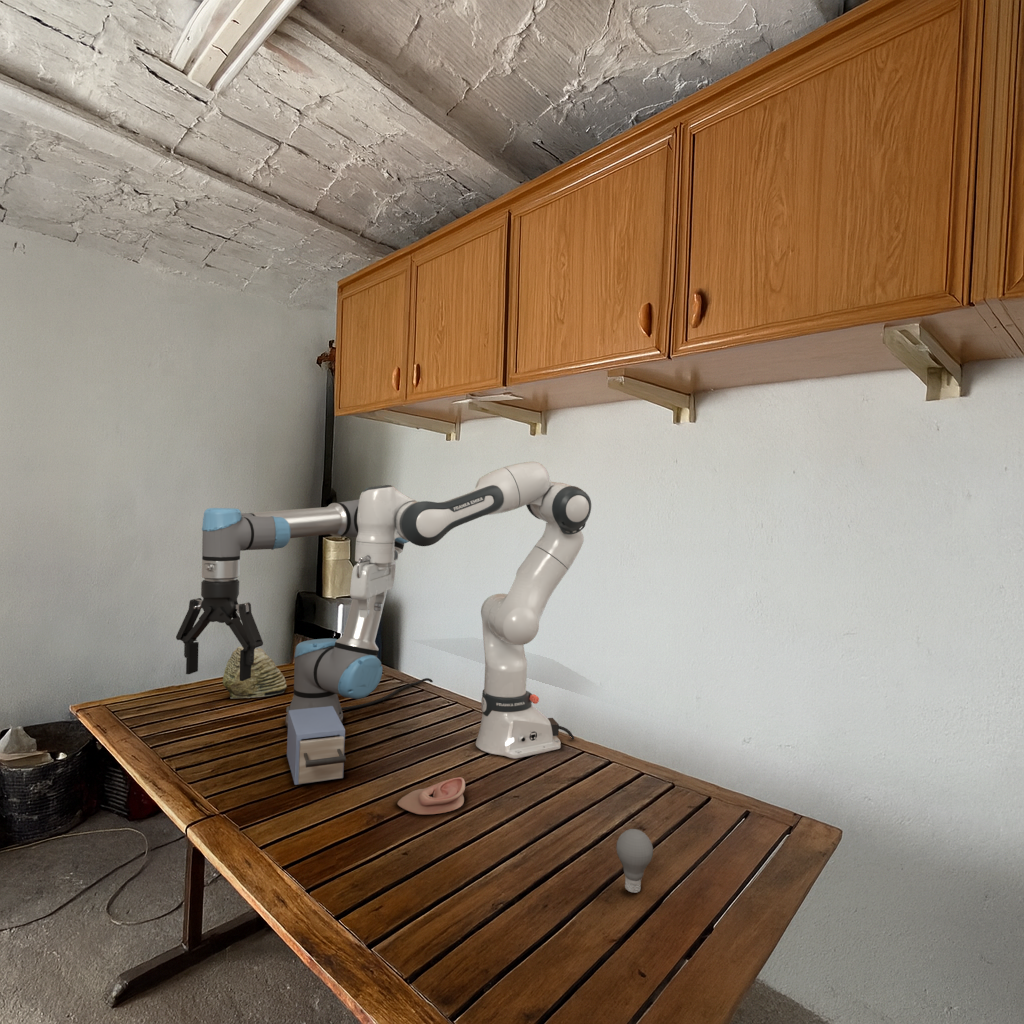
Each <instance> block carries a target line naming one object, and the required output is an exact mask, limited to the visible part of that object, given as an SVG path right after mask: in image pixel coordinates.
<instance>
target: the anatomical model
mask: <svg viewBox="0 0 1024 1024" xmlns="http://www.w3.org/2000/svg"><path fill="white" fill-rule="evenodd" d="M465 789H466V781H465V779H464V778H463V777H461V776H459V777H453V778H449V779H446V780H442V781H439V782H437V783H435V784H432V785H431V786H430V785H429V786H428V787H425V788H419V789H416V790H412V791H411V792H409V793H406V794H405V795H403V796H402V797H401V798H400V799H399V800H398V801H397V806H398V807H400V808H402V809H403V810H405V811H408V812H410V813H413V814H414V815H415V814H416V815H422V816H423V815H424V816H425V815H436V814H445V813H448V812H449V813H450V812H453V811H455V810H457V809H460V808H461V807H462V806H464V802H465V797H464V792H465Z"/></svg>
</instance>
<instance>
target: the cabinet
mask: <svg viewBox="0 0 1024 1024" xmlns="http://www.w3.org/2000/svg"><path fill="white" fill-rule="evenodd" d="M287 713H288V727H287V735H286V737H287V738H286V758H287V761H288V765H289V768H290V769H289V770H290V773H291V777H292V781H293V784H294V785H295V786H297V785H300V784H299V783H298V774H299V748H300V741H301V739H308V738H317V737H326V736H334V735H337V737H339V736H343V737H344V748H345V747H346V746H345V743H346V742H345V741H346V729H345V726H344V725H343V722H342V723H341V721H340V719H339V717H338V715H337V713H336V711H335V710H334V708H333V706H327V707H317V708H307V709H296V710H288V712H287ZM343 756H345V750H344V751H343ZM344 766H345V762H344V763H343V773H344V772H345V771H344V770H345V767H344ZM340 779H344V775H343V776H342V778H337V779H336V780H340ZM331 780H334V779H330V780H329V781H331ZM326 781H327V780H323V781H322V782H326ZM317 782H318V783H319V782H320V781H316V782H315V783H317ZM305 784H306V783H302V784H301V785H305ZM308 784H313V782H309V783H308Z"/></svg>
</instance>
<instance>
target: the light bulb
mask: <svg viewBox="0 0 1024 1024" xmlns="http://www.w3.org/2000/svg"><path fill="white" fill-rule="evenodd" d="M615 849H616V854H617V857H618V859H619V861H620V863H621V865H622V867H623V873H624V874H623V875H624V876H625V878H624V888H625V890H627V891H628V892H630V893H634V894H635V893H639V892H640V891H641V889H642V887H641V886H642V879H643V877H644V875H645V871H646V868H647V867H648V866H649V864H650V863H651V861H652V859H653V855H654V847H653V843H652V841H651V838H649V836H648V835H647V834H646V833H645V832H643V831H642V830H641V829H636V828H629V829H627V830H625V831H623V832H622V833H621V834H620V835H619V837H618V839H617V841H616V847H615Z"/></svg>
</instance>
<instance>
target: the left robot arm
mask: <svg viewBox="0 0 1024 1024" xmlns="http://www.w3.org/2000/svg"><path fill="white" fill-rule="evenodd" d="M359 499H360V498H358V499H353V500H347V501H341V502H332V503H330V504H328V506H324V507H323V506H322V507H309V508H296V509H295V508H294V509H282V510H270V511H269V510H268V511H255V512H243V513H242V511H241V509H239V508H235V507H209V508H206V509H205V510H204V512H203V517H202V527H201V531H202V536H201V537H202V538H201V540H202V541H201V542H202V544H201V545H202V546H201V548H202V549H201V556H202V557H201V577H202V578H203V580H202V581H201V583H200V596H201V597H202V598H201V597H198V598H192V599H190V600H189V602H188V603H189V604H188V610H187V612H186V614H185V616H184V618H183V621H182V623H181V625H180V627H179V629H178V631H177V633H176V636H175V639H176V640H177V641H181V642H182V643H183V647H184V648H183V656H184V658H185V659H186V660H185V662H186V663H185V675H191V674H194V673H197V672H199V647H200V645H199V643H200V642H199V641H198V637H199V636H200V635H201V634H202V633H203V631H204V630H205V629H206V628H207V627H208V625H209V624H210V623H215V622H216V623H219V624H225V625H226V626H227V627H229V629H230V630H231V631H232V633H233V635H234V636H235V637H236V639H237V640H238V642H239V644H240V646H241V647H243V648H244V649H243V650H241V651H240V681H244V680H247V679H249V678H251V664H253V663H254V650H255V649H257V648H260V647H263V645H264V641H263V638H262V636H261V634H260V631H259V628H258V626H257V623H256V621H255V618H254V616H253V613H252V604H251V602H249V601H248V602H244V603H239V602H238V598H239V596H240V580H239V579H238V578H239V577H240V576H241V552H242V551H243V552H244V551H254V550H255V551H257V550H258V551H259V550H271V551H274V550H277V549H282V548H283V549H284V548H285V547H286V546H288V544H289V542H290V540H291V539H298V538H306V537H317V536H322V535H323V536H325V535H330V536H332V537H335V538H338V537H349V538H357V535H358V525H357V514H358V505H359ZM409 542H410V541H407V540H405V539H403V538H396V539H395V545H394V547H395V549H396V550H397V551H398V555H400V554H401V553H403V551H404V547H405V544H407V543H409ZM387 594H388V591H386V596H385V599H384V602H383V607H384V606H385V602H386V597H387ZM375 600H376V595H375V596H373V597H370V598H369V602H368V609H370V611H369V616H368V617H366V618H361V617H360V609H359V605H358V599H352V598H351V603H350V607H349V609H348V610H349V611H348V615H347V619H346V622H345V626H344V629H343V633H342V636H340V637H339V638H338V639H337V638H331V637H329V638H317V639H316V638H315V639H308V640H304V641H300V642H299V643H298V644H297V645H296V646H295V650H294V651H295V652H294V655H293V658H294V670H293V671H294V672H293V695H292V696H293V697H292V699H291V702H290V704H289V706H286V708H285V709H286V712H285V713H286V715H285V726H286V728H288V710H296V709H307V708H317V707H327V706H333V708H334V710H335V711H336V713H337V715H338V717H339V719H340V721H341V723H342V724H343V722H344V714H343V711H347V710H353V709H354V710H355V709H360V708H364V707H368V706H371V705H375V704H378V703H380V702H383V701H385V700H387V699H389V698H391V697H393V696H394V695H396V694H397V693H399V692H400V691H403V690H405V689H407V688H410V687H413V686H416V685H419V684H422V683H424V682H429V683H433V682H434V680H432V678H429V677H425V678H422V679H420V680H417V681H414V682H411V683H408V684H406V685H403V686H401V687H399V688H396V690H394V691H392V692H390V693H388V694H386V695H385V696H383V697H381V698H378V699H375V700H372V701H368V702H365V703H360V704H355V705H351V706H341V702H340V699H339V695H340V696H341V697H343V698H348V699H354V700H360V699H365V698H367V697H368V696H369V695H370V694H371V693H373V692H374V691H375V690H376V688H377V687H378V686H379V685H380V682H381V680H382V677H383V665H382V661H381V660H380V659H379V658H378V654H379V647H378V645H377V644H376V638H377V634H378V630H379V627H380V622H381V619H382V614H383V609H384V608H383V609H382V610H380V611H375V610H374V603H375ZM201 610H203V613H201ZM200 613H201V615H200ZM199 615H200V616H199ZM197 619H198V620H197Z"/></svg>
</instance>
